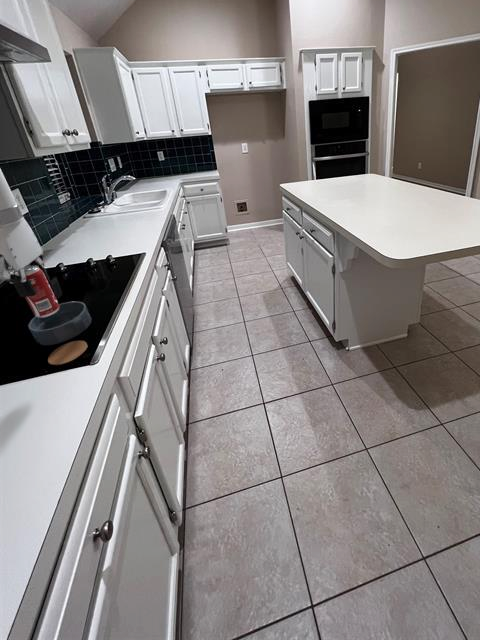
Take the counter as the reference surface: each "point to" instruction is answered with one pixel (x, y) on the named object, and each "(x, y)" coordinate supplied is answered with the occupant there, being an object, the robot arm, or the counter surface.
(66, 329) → the bowl
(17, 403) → the counter surface
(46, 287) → the soda can
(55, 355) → the coaster
